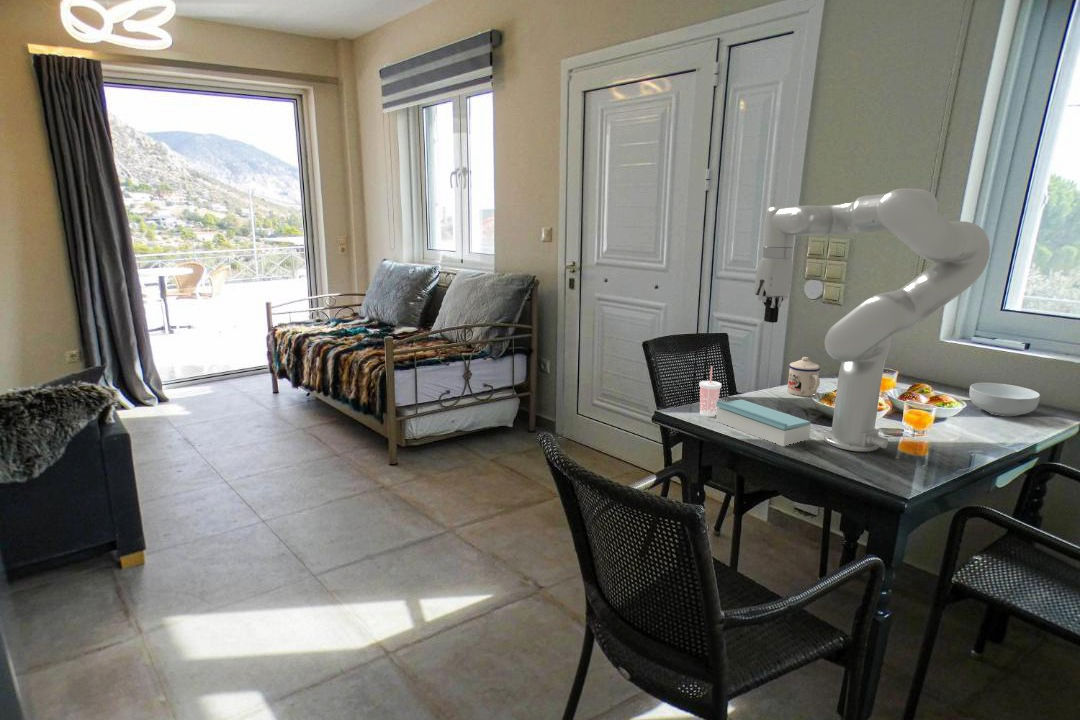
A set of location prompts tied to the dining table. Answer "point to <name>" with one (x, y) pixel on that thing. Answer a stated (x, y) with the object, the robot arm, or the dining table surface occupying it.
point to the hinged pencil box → (763, 428)
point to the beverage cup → (709, 396)
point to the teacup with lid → (803, 377)
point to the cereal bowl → (1003, 398)
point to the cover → (763, 414)
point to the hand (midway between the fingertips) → (770, 321)
